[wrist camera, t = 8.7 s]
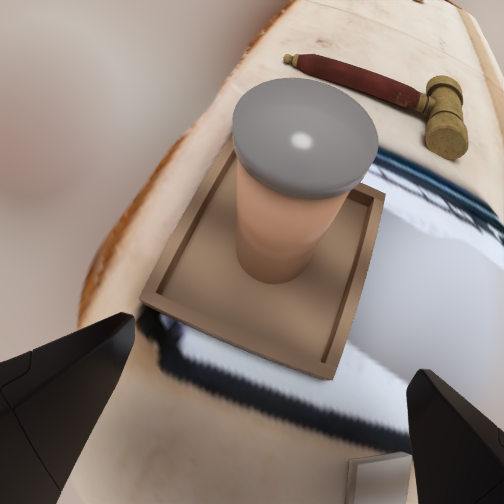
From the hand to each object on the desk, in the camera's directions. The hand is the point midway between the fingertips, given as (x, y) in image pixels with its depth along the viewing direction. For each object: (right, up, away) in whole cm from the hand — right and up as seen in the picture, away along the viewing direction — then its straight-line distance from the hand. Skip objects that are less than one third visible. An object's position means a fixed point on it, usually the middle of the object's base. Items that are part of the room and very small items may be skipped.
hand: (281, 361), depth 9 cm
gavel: (+12, +20, +22) cm, 32 cm away
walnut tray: (+1, +3, +14) cm, 14 cm away
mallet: (+7, -15, +7) cm, 18 cm away
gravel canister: (+1, +3, +13) cm, 14 cm away
